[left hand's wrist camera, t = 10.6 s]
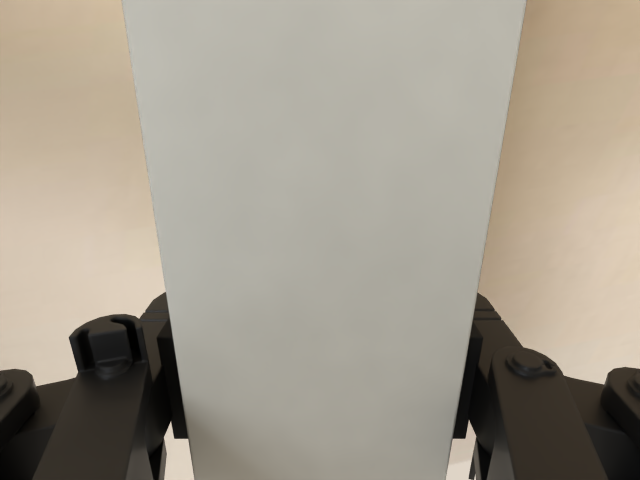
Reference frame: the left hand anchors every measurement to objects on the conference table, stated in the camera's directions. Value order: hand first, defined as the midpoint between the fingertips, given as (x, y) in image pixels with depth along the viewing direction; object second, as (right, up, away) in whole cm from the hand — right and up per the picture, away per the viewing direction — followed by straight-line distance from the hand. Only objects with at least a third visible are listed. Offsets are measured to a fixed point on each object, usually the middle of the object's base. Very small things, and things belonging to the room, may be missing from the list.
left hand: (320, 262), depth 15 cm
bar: (0, +28, -10) cm, 30 cm away
